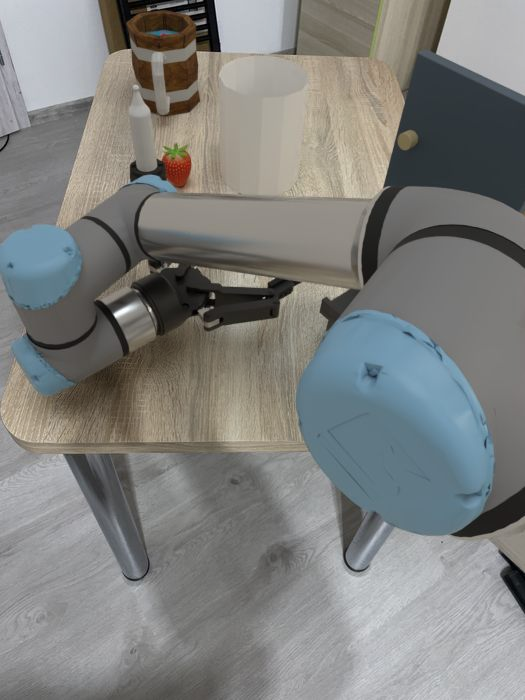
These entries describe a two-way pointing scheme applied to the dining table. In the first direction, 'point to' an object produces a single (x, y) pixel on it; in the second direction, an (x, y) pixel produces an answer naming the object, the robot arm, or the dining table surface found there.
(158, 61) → the mug
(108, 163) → the dining table surface
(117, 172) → the dining table surface
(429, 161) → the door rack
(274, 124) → the container
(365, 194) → the dining table surface
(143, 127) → the candle
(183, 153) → the fruit
